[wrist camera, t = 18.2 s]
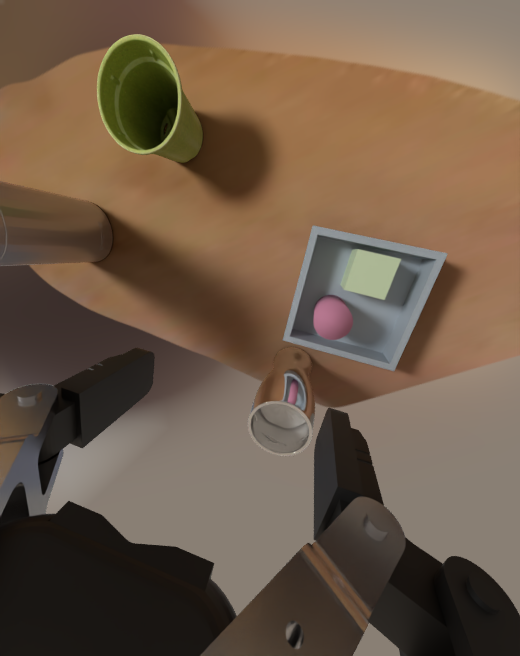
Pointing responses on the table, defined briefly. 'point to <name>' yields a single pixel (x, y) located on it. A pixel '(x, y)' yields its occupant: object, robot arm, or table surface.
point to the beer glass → (284, 405)
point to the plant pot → (146, 101)
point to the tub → (362, 297)
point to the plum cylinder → (332, 317)
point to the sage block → (369, 273)
